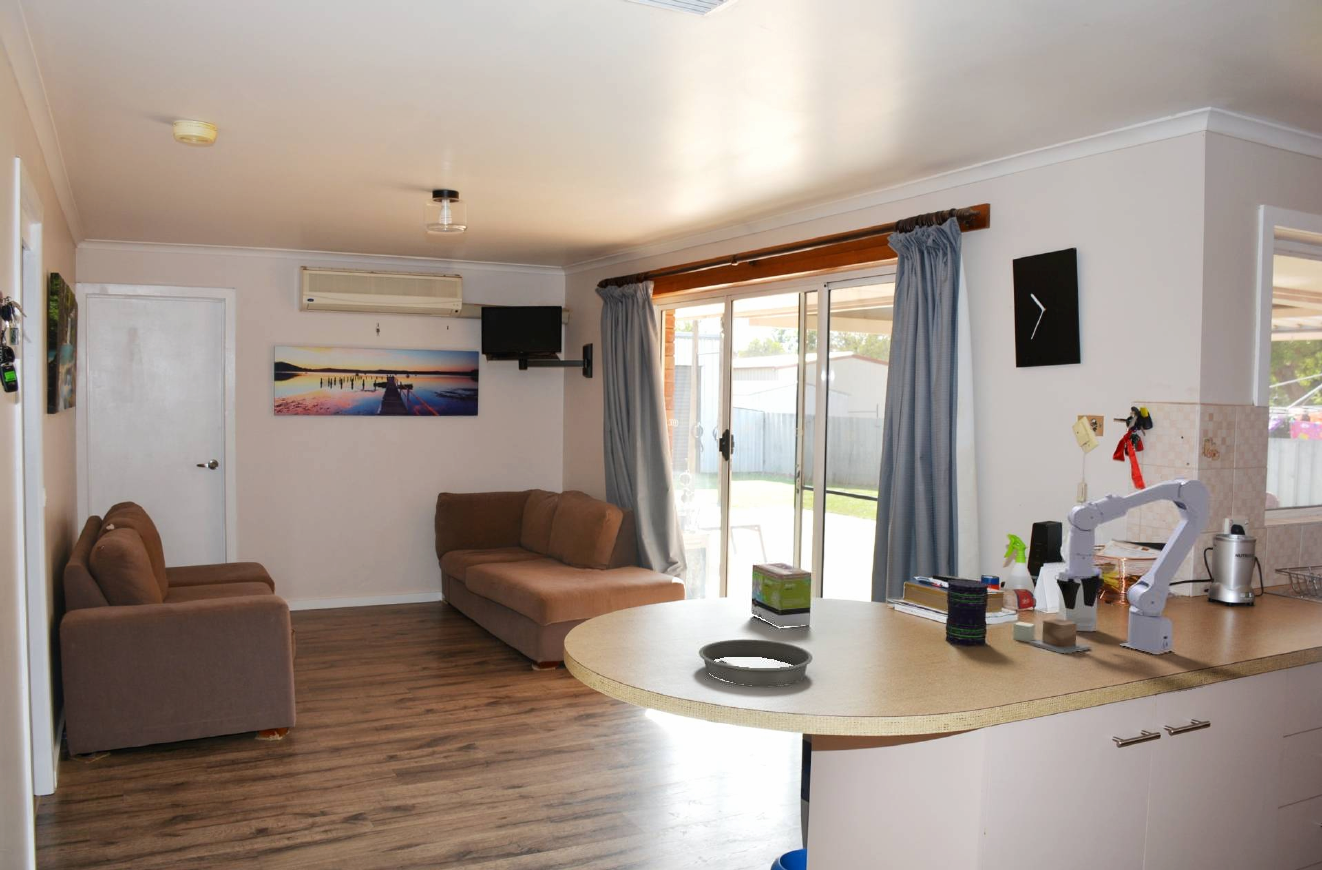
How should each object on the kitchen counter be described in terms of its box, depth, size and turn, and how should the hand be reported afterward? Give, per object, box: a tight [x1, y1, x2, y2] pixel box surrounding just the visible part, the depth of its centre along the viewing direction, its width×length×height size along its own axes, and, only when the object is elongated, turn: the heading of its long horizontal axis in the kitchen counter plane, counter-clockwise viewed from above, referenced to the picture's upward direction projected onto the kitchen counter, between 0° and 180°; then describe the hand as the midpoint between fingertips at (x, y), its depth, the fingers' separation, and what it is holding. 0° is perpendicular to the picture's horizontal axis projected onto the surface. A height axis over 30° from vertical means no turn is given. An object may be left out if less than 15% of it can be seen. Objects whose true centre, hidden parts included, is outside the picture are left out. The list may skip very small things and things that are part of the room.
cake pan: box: [698, 638, 813, 687], centre depth 206 cm, size 25×25×4 cm
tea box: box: [750, 562, 812, 627], centre depth 255 cm, size 15×10×15 cm, turn 25°
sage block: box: [1012, 621, 1036, 643], centre depth 243 cm, size 4×4×4 cm
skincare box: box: [1058, 569, 1098, 632], centre depth 256 cm, size 8×7×16 cm
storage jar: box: [945, 578, 989, 648], centre depth 238 cm, size 10×10×15 cm
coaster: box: [1029, 639, 1092, 655], centre depth 236 cm, size 10×10×1 cm
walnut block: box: [1041, 618, 1077, 648], centre depth 236 cm, size 6×6×6 cm
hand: (1079, 607), depth 239 cm, fingers open, 7 cm apart
